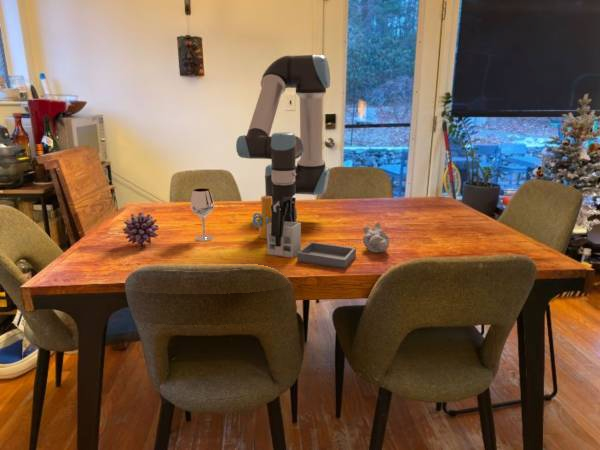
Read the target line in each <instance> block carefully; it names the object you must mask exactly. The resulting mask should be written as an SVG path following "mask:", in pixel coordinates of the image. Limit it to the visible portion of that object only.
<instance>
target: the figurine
mask: <svg viewBox="0 0 600 450" xmlns="http://www.w3.org/2000/svg"><path fill="white" fill-rule="evenodd" d="M362 230H363V232H364V235H363V237H362V242H363V245H364V247H365V248H366V249H367V250H368V251H369V252H370V253H374V254H377V253H378V254H379V253H383V252H386V251H387V250H388V249H389V248H390V237H389V235H388V233H386V232H385V230H384V229H381V222H379V221H377V222H376V223H375V225H374V227H373V228H371V227H370V226H368V225H366V226H364V227H363V228H362Z"/></svg>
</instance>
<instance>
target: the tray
mask: <svg viewBox="0 0 600 450" xmlns="http://www.w3.org/2000/svg"><path fill="white" fill-rule="evenodd" d="M356 255H357V248H356V247H350V246H343V245H335V244H330V243H329V244H328V243H321V242H315V241H310V242H309V243H308V244H307V245H305V246H303V247H302V248H301V250H300V251H299V252H297V255H296V262H298V263H302V264H308V265H315V266H322V267H327V268H328V267H329V268H333V269H334V268H335V269H341V270H346V269H347V267H348V266H349V265H350V264H351V263H352V262H353V261H354V259H355V258H357V256H356Z"/></svg>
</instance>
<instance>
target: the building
mask: <svg viewBox="0 0 600 450" xmlns="http://www.w3.org/2000/svg"><path fill="white" fill-rule="evenodd" d="M301 225H302V223H301V222H288V221H284V225H283V233H282V236H284V238H285V243H284V255H283V256H282V257H283V258H285V257H286V258H290V257H291V259H293V258H294V257H297V252H299V251H300V250H301V249H302V247H301V246H302V244H301V243H302V230H301V229H302V226H301ZM274 238H275V236H272V235H271V223H269V224H267V239H266V249H267V252H266V253H267V254H268V255H271V256H276V255H275V242H273V240H274ZM277 256H278V257H279V256H280V255H277ZM280 257H281V256H280Z"/></svg>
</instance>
